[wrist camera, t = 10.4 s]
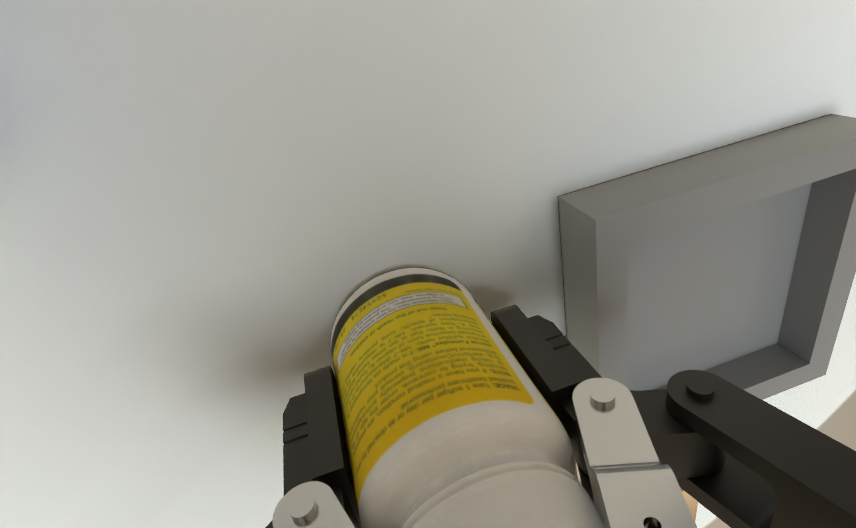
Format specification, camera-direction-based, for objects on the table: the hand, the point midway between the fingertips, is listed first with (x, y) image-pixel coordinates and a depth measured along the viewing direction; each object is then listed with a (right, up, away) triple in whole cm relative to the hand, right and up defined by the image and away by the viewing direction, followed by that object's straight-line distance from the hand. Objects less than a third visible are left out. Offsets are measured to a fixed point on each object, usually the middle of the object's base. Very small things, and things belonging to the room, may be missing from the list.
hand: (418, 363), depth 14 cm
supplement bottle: (0, +1, +2) cm, 2 cm away
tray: (+10, +2, +4) cm, 11 cm away
